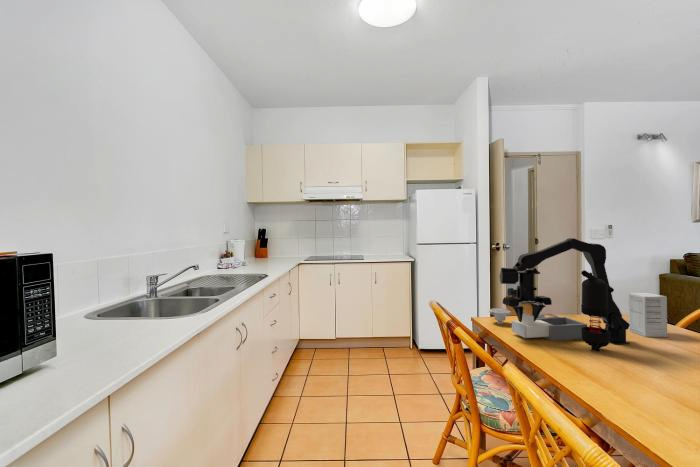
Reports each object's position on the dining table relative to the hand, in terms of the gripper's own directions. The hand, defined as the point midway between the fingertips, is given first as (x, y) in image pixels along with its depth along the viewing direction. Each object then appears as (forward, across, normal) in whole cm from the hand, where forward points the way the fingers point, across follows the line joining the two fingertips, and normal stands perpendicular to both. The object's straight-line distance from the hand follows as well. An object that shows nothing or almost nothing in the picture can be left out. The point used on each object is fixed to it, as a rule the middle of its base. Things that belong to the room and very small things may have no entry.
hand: (527, 321), depth 145 cm
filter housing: (+7, -15, -3) cm, 16 cm away
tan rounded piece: (+5, -17, -8) cm, 19 cm away
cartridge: (+5, -3, 0) cm, 6 cm away
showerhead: (+7, 0, -21) cm, 22 cm away
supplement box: (+7, -52, +4) cm, 53 cm away
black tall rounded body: (+7, -16, +18) cm, 25 cm away
